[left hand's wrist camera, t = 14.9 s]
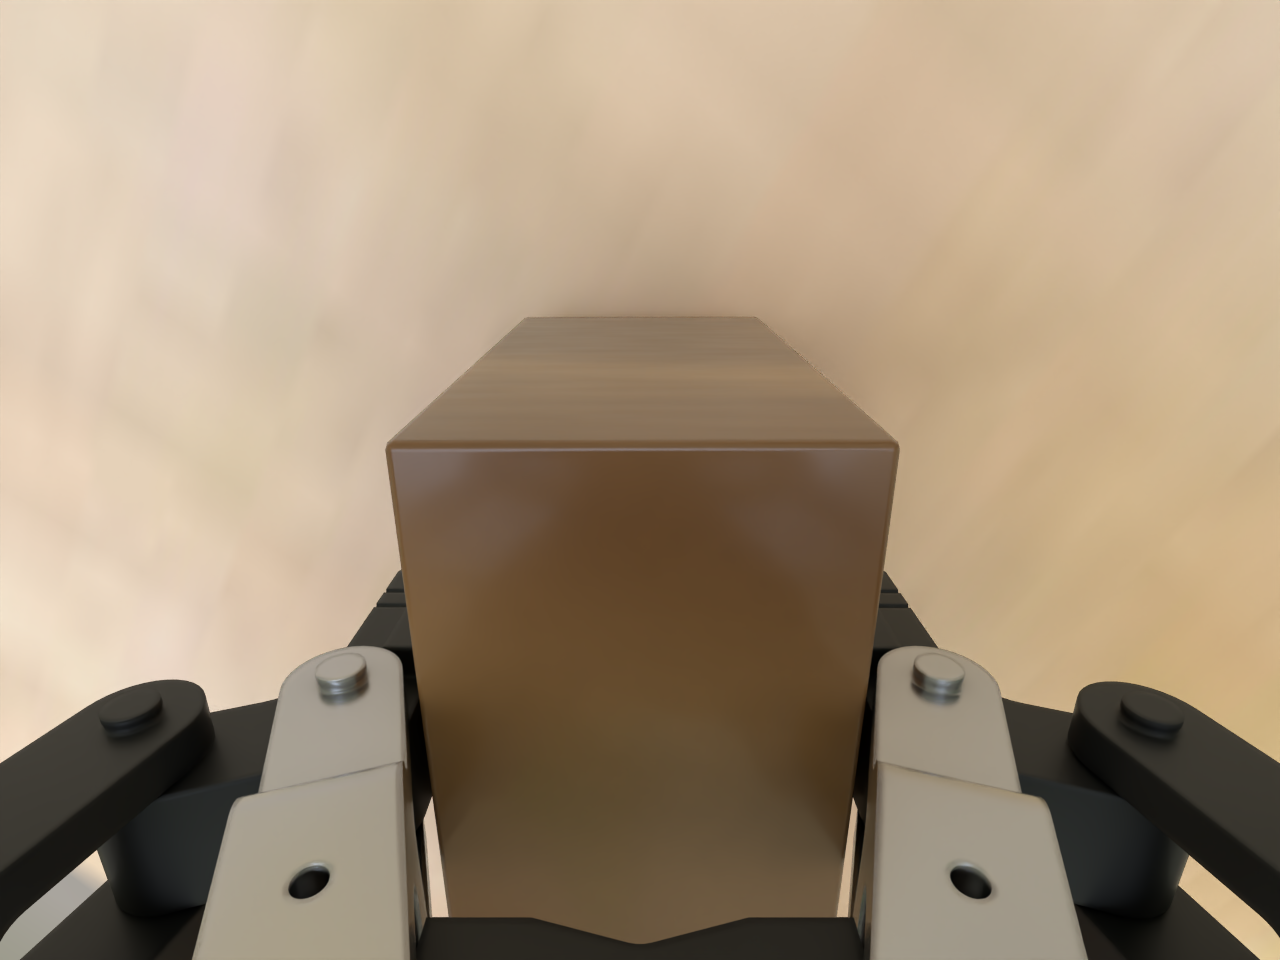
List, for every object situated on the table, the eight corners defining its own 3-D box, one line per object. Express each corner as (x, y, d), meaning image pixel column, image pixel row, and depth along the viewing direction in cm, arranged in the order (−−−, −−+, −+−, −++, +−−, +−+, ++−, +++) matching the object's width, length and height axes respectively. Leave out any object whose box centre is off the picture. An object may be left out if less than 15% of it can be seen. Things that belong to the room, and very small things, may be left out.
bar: (523, 316, 14) (380, 442, 6) (758, 316, 14) (904, 442, 6) (567, 1055, 22) (527, 1510, 14) (716, 1054, 22) (757, 1510, 14)
